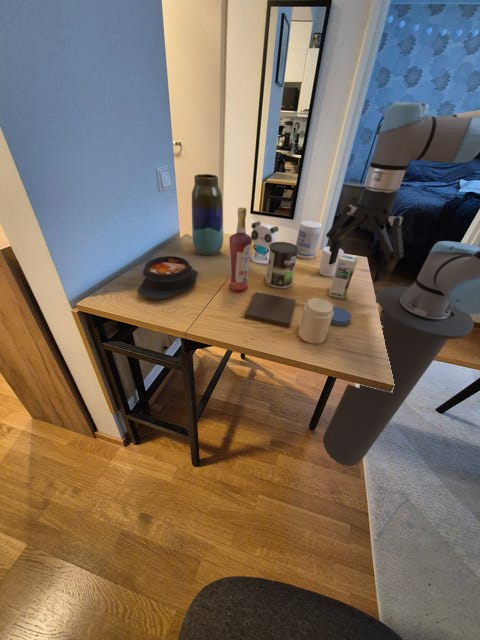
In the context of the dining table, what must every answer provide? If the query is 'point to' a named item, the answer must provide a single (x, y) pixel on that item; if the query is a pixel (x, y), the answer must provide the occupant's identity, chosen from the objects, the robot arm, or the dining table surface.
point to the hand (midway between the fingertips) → (353, 271)
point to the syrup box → (342, 275)
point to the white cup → (325, 266)
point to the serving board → (271, 309)
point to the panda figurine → (262, 241)
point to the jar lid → (340, 316)
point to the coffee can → (281, 264)
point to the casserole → (167, 277)
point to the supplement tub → (308, 239)
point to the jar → (315, 320)
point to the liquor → (239, 254)
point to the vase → (207, 214)
